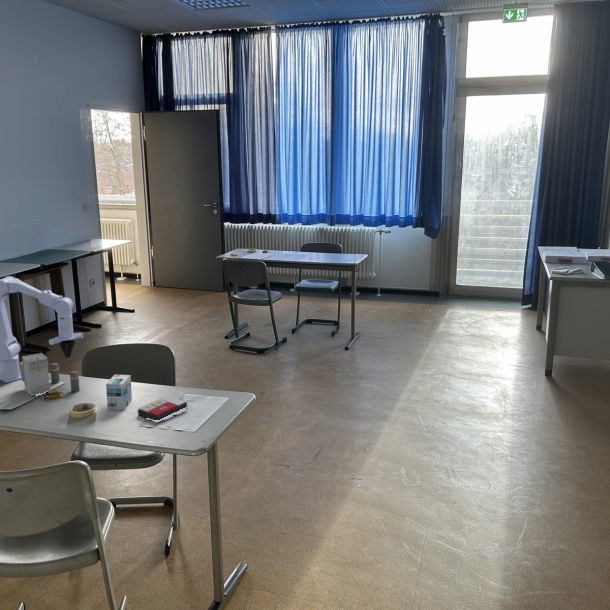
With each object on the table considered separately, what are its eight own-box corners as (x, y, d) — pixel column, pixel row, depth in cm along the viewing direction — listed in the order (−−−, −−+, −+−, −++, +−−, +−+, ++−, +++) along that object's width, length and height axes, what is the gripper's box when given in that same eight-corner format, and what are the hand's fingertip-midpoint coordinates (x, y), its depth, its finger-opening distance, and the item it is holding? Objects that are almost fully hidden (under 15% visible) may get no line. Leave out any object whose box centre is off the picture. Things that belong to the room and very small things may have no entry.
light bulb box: (124, 411, 230) (123, 384, 228) (106, 410, 230) (105, 383, 228) (132, 400, 241) (131, 374, 238) (115, 399, 241) (114, 374, 238)
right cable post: (69, 390, 248) (67, 372, 246) (76, 388, 251) (75, 370, 249) (74, 393, 246) (72, 374, 244) (81, 390, 249) (80, 372, 247)
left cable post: (49, 382, 257) (48, 364, 255) (57, 380, 260) (55, 362, 258) (54, 384, 255) (52, 366, 253) (61, 382, 258) (60, 364, 256)
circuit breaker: (39, 383, 256) (36, 349, 253) (50, 393, 246) (47, 358, 242) (21, 386, 251) (17, 352, 248) (31, 397, 241) (27, 361, 237)
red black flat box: (136, 407, 225) (167, 393, 237) (137, 418, 226) (168, 403, 238) (157, 415, 219) (187, 400, 231) (157, 426, 220) (187, 410, 232)
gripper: (54, 331, 247) (56, 363, 250) (86, 324, 258) (88, 355, 261) (45, 328, 251) (47, 359, 254) (77, 321, 262) (79, 351, 265)
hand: (67, 357), depth 258 cm, fingers closed
